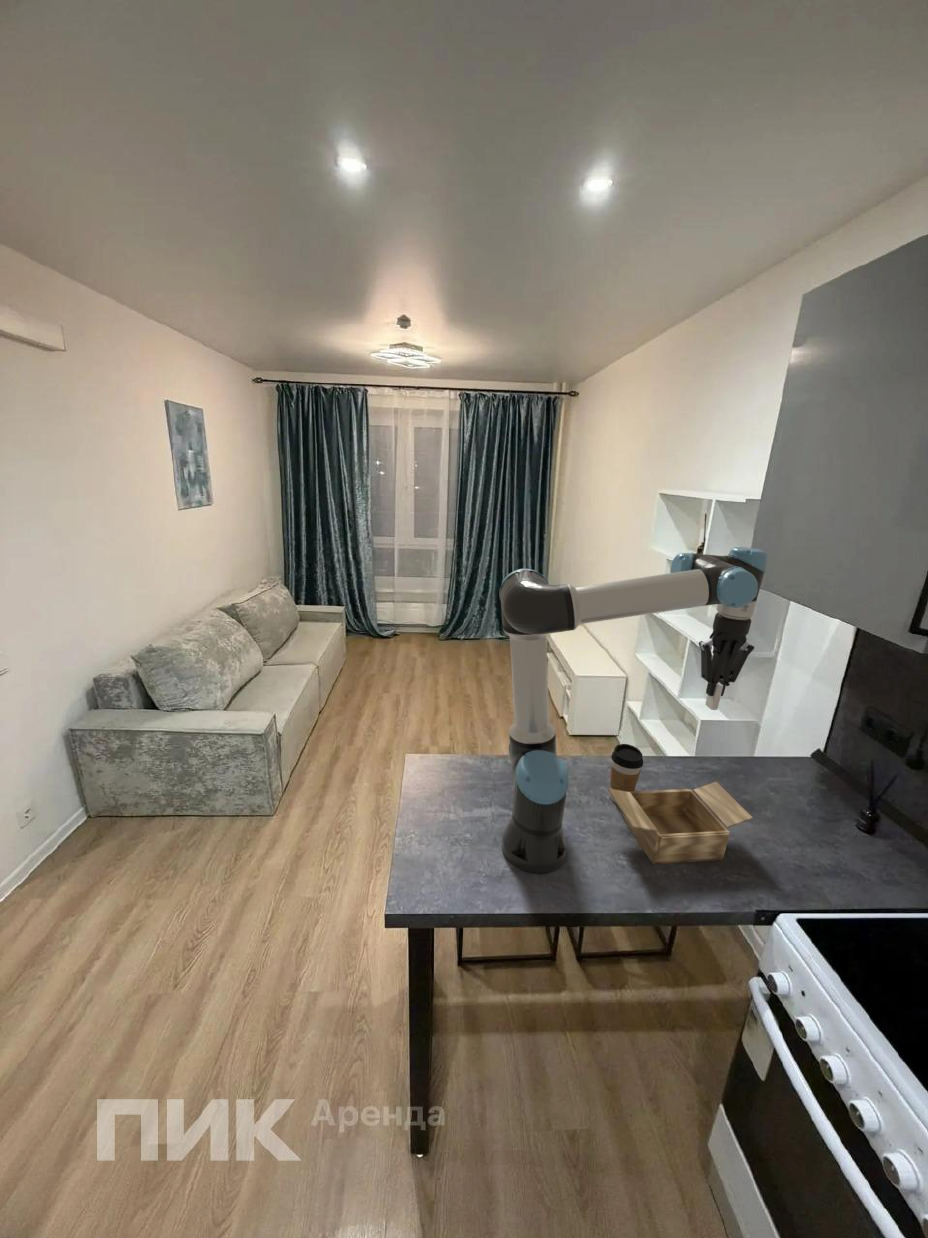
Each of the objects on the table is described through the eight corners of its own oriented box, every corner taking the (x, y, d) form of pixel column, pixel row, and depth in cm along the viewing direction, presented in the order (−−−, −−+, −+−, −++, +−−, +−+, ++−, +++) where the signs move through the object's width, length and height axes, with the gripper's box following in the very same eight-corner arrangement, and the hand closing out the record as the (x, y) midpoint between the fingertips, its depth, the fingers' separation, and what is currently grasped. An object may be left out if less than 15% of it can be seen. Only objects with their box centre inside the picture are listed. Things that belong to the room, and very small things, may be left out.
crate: (653, 866, 116) (659, 837, 114) (622, 817, 132) (626, 791, 130) (724, 861, 119) (731, 833, 117) (684, 813, 135) (690, 788, 133)
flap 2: (727, 826, 118) (752, 817, 118) (693, 789, 131) (716, 781, 131) (727, 828, 118) (752, 818, 118) (693, 790, 131) (716, 782, 131)
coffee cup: (632, 790, 144) (640, 744, 139) (639, 809, 135) (648, 762, 131) (602, 787, 144) (610, 741, 140) (607, 806, 136) (615, 758, 132)
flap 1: (657, 832, 115) (632, 827, 114) (629, 793, 128) (607, 789, 127) (657, 830, 115) (633, 826, 114) (630, 792, 128) (607, 788, 127)
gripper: (717, 619, 111) (694, 714, 118) (770, 621, 112) (745, 715, 119) (698, 609, 118) (678, 699, 125) (749, 611, 119) (726, 700, 126)
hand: (711, 707), depth 122 cm, fingers closed
